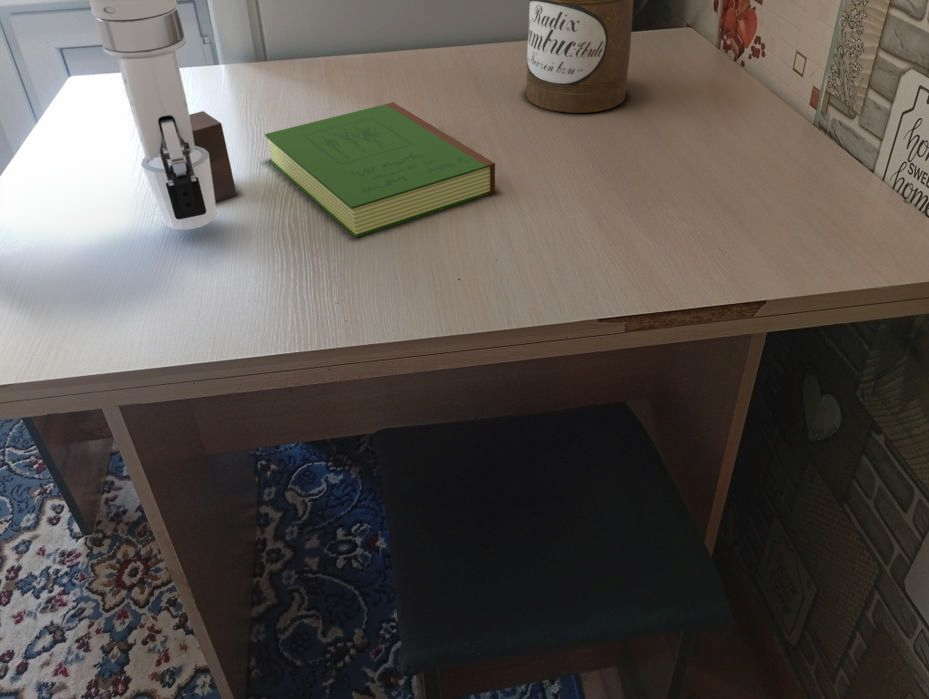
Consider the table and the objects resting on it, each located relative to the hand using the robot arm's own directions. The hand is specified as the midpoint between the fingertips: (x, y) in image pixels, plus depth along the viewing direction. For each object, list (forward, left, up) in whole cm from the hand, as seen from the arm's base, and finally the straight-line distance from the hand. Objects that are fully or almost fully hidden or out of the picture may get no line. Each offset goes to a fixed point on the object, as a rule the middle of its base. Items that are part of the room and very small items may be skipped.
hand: (185, 199), depth 85 cm
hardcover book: (+23, +5, -4) cm, 24 cm away
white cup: (0, 0, -2) cm, 2 cm away
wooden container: (+59, +18, -4) cm, 62 cm away
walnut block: (+3, +9, -4) cm, 10 cm away
